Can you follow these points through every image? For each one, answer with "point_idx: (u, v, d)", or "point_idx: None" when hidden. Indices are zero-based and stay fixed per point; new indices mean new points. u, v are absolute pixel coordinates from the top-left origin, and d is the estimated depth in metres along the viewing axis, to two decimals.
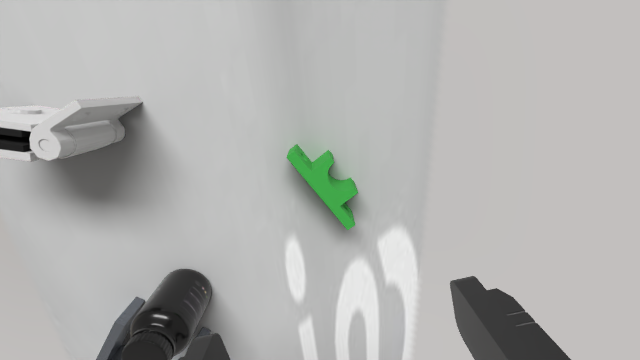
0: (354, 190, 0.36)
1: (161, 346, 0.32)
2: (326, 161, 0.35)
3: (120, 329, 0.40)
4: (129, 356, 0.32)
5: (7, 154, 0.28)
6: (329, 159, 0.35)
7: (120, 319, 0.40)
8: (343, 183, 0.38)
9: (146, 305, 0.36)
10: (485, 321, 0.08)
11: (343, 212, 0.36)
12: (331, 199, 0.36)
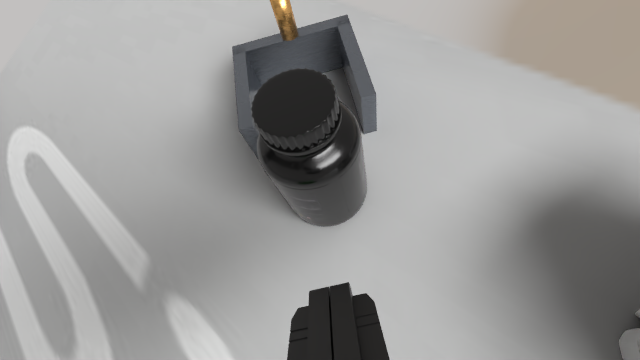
0: None
1: (283, 138, 0.16)
2: None
3: (361, 90, 0.25)
4: (317, 87, 0.17)
5: None
6: None
7: (371, 100, 0.26)
8: None
9: (359, 156, 0.20)
10: (335, 322, 0.09)
11: None
12: None
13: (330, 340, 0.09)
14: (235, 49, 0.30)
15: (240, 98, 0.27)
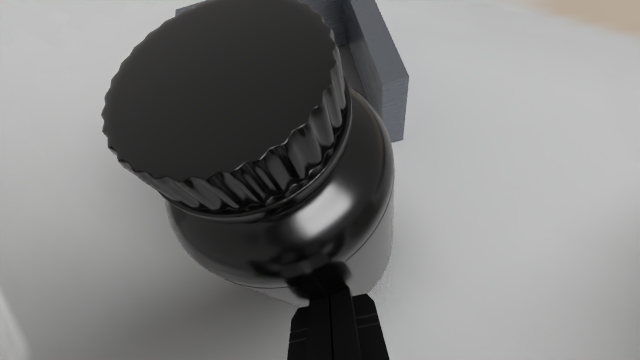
0: None
1: (173, 183, 0.05)
2: None
3: (382, 71, 0.14)
4: (284, 34, 0.06)
5: None
6: None
7: (400, 89, 0.15)
8: None
9: (390, 204, 0.09)
10: (335, 322, 0.09)
11: None
12: None
13: (330, 340, 0.09)
14: None
15: None
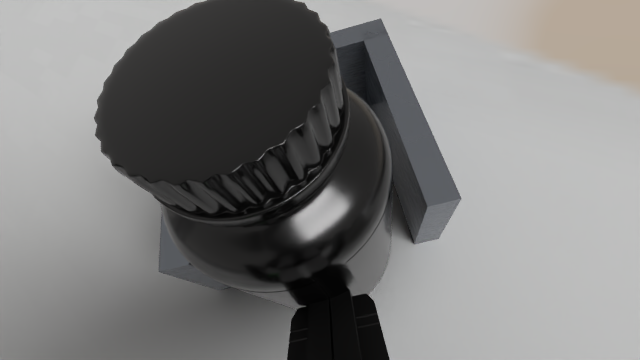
0: None
1: (169, 186, 0.05)
2: None
3: (426, 188, 0.12)
4: (280, 33, 0.06)
5: None
6: None
7: (448, 207, 0.12)
8: None
9: (389, 204, 0.09)
10: (335, 322, 0.09)
11: None
12: None
13: (330, 340, 0.09)
14: None
15: None
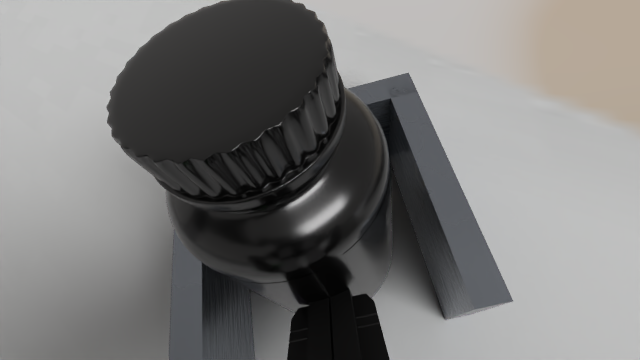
0: None
1: (173, 166, 0.05)
2: None
3: (471, 285, 0.10)
4: (280, 30, 0.06)
5: None
6: None
7: (495, 305, 0.10)
8: None
9: (387, 200, 0.09)
10: (335, 322, 0.09)
11: None
12: None
13: (330, 340, 0.09)
14: None
15: (181, 273, 0.12)
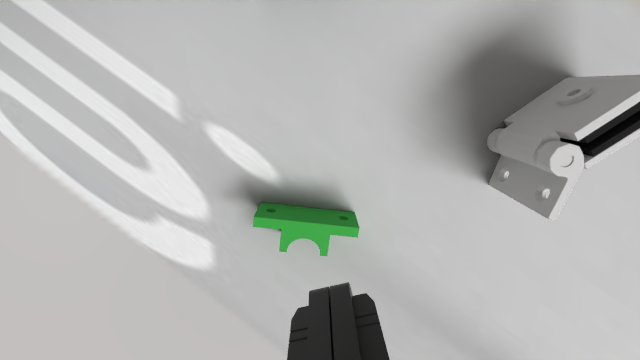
0: (283, 250, 0.34)
1: None
2: (326, 251, 0.34)
3: None
4: None
5: (599, 122, 0.25)
6: (325, 254, 0.34)
7: None
8: None
9: None
10: (335, 322, 0.09)
11: (273, 227, 0.33)
12: (293, 228, 0.33)
13: (330, 340, 0.09)
14: None
15: None
